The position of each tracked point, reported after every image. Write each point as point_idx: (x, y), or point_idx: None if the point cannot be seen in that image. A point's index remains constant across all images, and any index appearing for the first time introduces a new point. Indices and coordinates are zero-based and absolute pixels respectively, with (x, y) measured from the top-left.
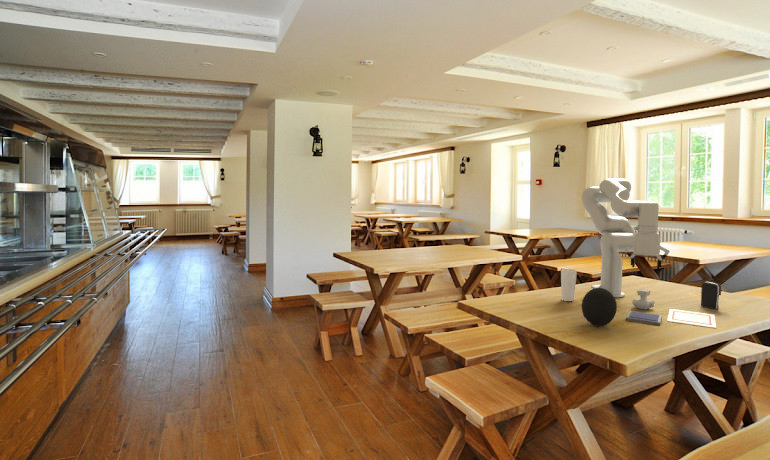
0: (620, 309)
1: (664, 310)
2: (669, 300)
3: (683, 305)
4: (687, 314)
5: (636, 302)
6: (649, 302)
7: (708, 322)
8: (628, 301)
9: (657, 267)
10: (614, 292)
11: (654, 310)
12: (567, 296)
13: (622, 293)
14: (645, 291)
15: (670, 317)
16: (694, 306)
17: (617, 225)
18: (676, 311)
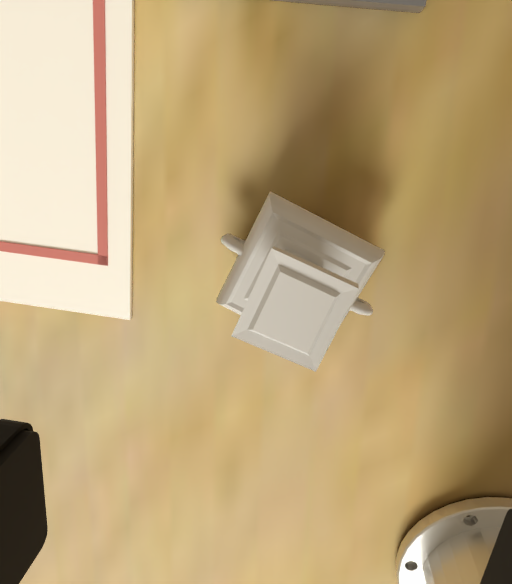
0: (476, 140)
1: (161, 272)
2: (141, 541)
3: (67, 454)
4: (22, 203)
5: (352, 236)
6: (251, 240)
7: None
8: (382, 430)
9: (8, 447)
10: (481, 543)
11: None
12: None
13: (411, 578)
14: (278, 268)
15: (114, 32)
16: None
17: None
18: (88, 254)
